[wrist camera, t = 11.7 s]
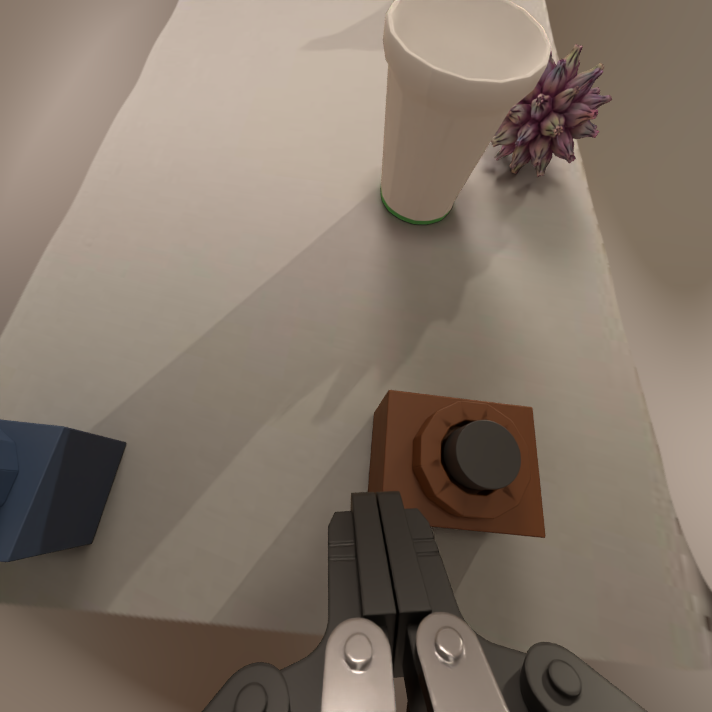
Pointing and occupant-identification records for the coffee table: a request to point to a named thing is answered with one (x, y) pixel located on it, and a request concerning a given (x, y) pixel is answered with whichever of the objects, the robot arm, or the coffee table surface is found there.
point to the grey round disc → (482, 456)
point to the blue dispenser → (52, 487)
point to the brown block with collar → (430, 475)
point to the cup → (450, 94)
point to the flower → (552, 115)
